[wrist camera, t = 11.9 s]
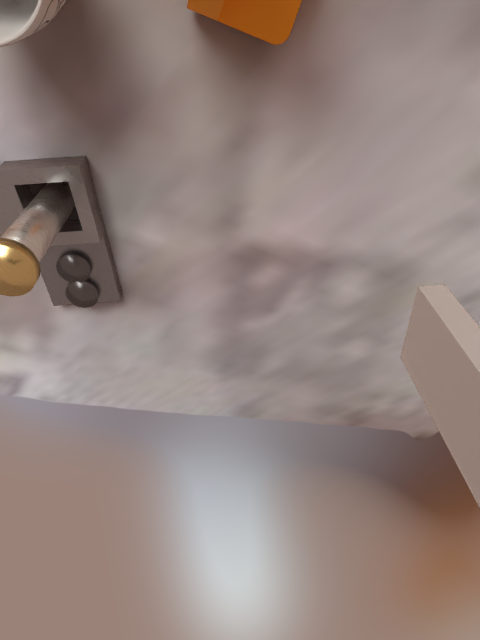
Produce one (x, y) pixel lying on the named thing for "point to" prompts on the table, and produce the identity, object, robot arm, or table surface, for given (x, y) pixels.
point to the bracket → (252, 16)
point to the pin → (32, 238)
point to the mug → (25, 18)
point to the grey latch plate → (77, 258)
